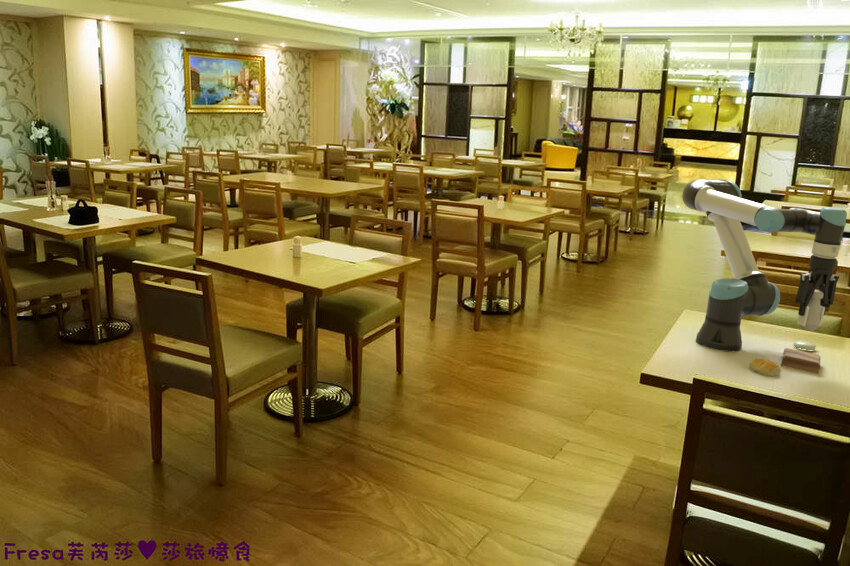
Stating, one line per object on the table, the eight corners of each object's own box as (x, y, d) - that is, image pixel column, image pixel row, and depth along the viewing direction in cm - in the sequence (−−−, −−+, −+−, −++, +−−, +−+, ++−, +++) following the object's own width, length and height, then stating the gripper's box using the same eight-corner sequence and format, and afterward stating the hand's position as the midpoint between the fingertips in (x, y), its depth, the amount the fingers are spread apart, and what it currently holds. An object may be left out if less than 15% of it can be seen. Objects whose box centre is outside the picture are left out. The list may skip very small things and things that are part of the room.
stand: (818, 373, 227) (820, 363, 226) (780, 365, 232) (783, 355, 231) (818, 364, 236) (820, 354, 236) (782, 356, 241) (784, 347, 241)
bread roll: (758, 365, 231) (761, 354, 230) (783, 375, 223) (786, 363, 222) (742, 368, 227) (745, 356, 226) (767, 378, 219) (770, 366, 218)
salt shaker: (817, 332, 227) (826, 294, 224) (797, 328, 230) (806, 290, 227) (818, 328, 232) (827, 291, 229) (799, 325, 235) (807, 287, 232)
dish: (803, 352, 250) (804, 346, 249) (788, 345, 256) (789, 340, 256) (819, 351, 252) (820, 346, 251) (803, 345, 258) (805, 340, 258)
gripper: (809, 258, 219) (794, 328, 225) (857, 259, 224) (840, 328, 230) (791, 253, 226) (777, 321, 232) (837, 254, 231) (822, 321, 237)
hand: (809, 324), depth 231 cm, fingers closed on salt shaker, 6 cm apart
